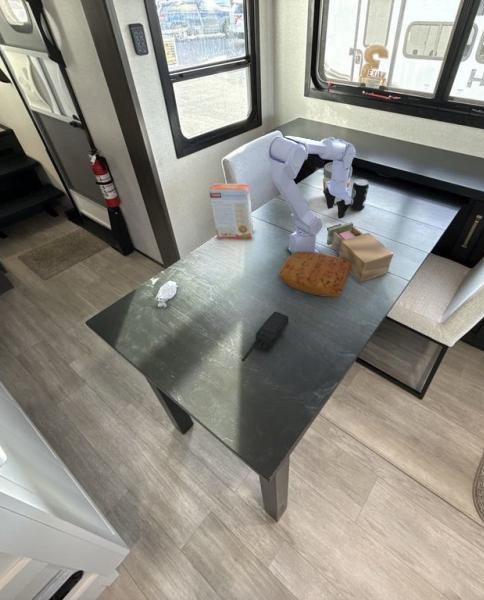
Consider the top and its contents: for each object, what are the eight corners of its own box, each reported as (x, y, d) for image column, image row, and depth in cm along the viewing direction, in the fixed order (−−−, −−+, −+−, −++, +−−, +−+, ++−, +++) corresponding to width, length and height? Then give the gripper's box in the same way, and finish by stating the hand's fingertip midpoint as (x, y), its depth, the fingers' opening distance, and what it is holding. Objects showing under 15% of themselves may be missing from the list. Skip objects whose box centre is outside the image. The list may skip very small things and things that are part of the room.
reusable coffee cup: (316, 195, 150) (319, 163, 139) (340, 190, 152) (344, 159, 141) (327, 208, 141) (331, 175, 131) (352, 203, 144) (358, 170, 133)
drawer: (320, 238, 124) (322, 223, 119) (343, 231, 127) (345, 216, 122) (344, 262, 113) (347, 247, 108) (368, 254, 116) (372, 239, 111)
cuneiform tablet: (352, 276, 109) (356, 258, 103) (336, 309, 99) (339, 291, 93) (294, 259, 116) (295, 242, 110) (273, 288, 106) (273, 270, 100)
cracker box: (253, 231, 130) (249, 182, 115) (251, 239, 126) (247, 190, 111) (220, 230, 131) (212, 182, 116) (217, 238, 127) (208, 189, 112)
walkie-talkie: (294, 321, 93) (261, 370, 79) (281, 326, 97) (247, 373, 84) (282, 305, 91) (246, 352, 78) (269, 311, 96) (232, 357, 82)
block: (343, 249, 117) (345, 239, 113) (337, 243, 119) (338, 233, 116) (353, 246, 118) (355, 236, 115) (347, 240, 121) (348, 230, 117)
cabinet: (338, 260, 116) (341, 240, 109) (364, 251, 119) (368, 232, 112) (359, 282, 107) (364, 263, 101) (387, 272, 110) (393, 253, 104)
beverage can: (360, 212, 138) (365, 186, 129) (346, 208, 141) (350, 182, 132) (366, 206, 141) (372, 180, 133) (353, 202, 144) (358, 177, 136)
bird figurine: (175, 309, 102) (180, 283, 107) (164, 299, 96) (170, 272, 101) (161, 310, 103) (167, 285, 108) (150, 300, 97) (157, 274, 102)
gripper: (361, 184, 105) (355, 219, 115) (338, 167, 114) (334, 201, 124) (343, 189, 103) (338, 224, 113) (321, 171, 113) (318, 205, 123)
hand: (335, 212), depth 119 cm, fingers open, 7 cm apart
